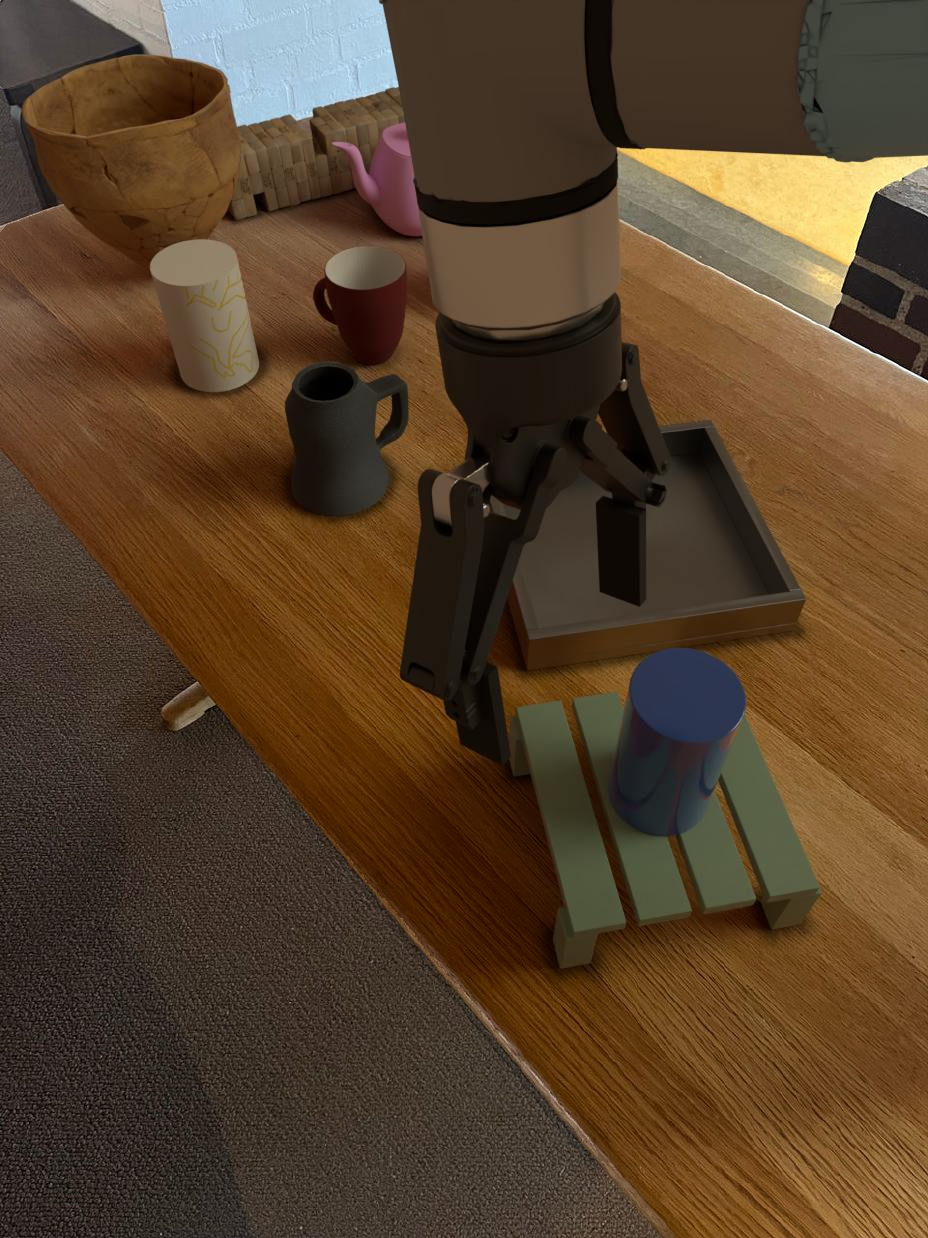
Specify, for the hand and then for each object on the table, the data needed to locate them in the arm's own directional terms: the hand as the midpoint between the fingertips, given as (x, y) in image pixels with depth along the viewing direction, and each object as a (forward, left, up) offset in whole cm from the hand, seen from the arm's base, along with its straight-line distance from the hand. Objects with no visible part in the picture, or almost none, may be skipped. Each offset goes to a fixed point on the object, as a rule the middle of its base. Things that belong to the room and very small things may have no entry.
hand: (558, 668), depth 53 cm
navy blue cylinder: (-2, -7, -12) cm, 14 cm away
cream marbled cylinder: (+57, +21, -18) cm, 63 cm away
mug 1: (+57, +6, -18) cm, 60 cm away
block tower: (+94, +8, -18) cm, 96 cm away
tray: (+24, -13, -18) cm, 33 cm away
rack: (-2, -7, -18) cm, 20 cm away
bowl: (+77, +26, -18) cm, 83 cm away
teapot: (+84, -4, -18) cm, 86 cm away
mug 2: (+38, +9, -18) cm, 43 cm away
